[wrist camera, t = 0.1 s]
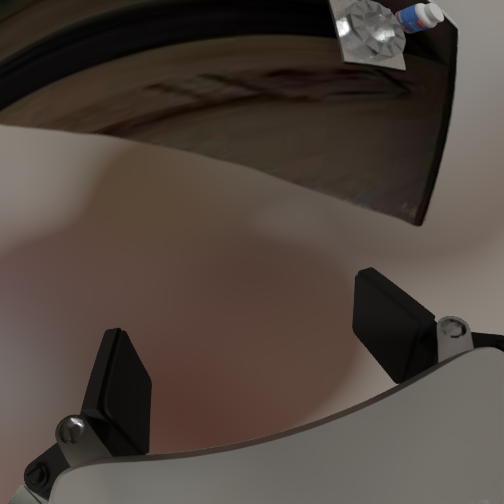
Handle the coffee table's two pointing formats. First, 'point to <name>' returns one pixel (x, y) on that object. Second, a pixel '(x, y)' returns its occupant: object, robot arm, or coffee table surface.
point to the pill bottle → (419, 17)
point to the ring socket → (368, 33)
